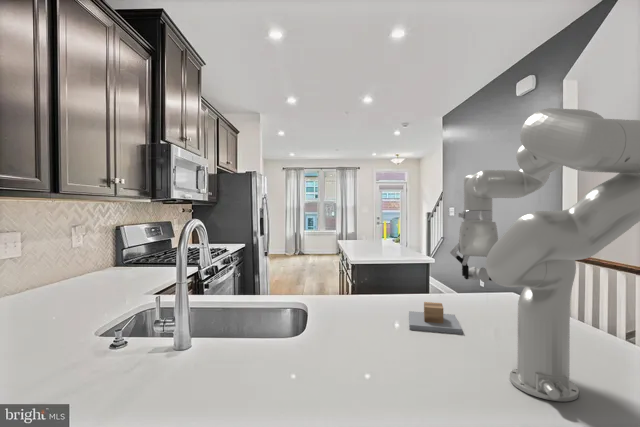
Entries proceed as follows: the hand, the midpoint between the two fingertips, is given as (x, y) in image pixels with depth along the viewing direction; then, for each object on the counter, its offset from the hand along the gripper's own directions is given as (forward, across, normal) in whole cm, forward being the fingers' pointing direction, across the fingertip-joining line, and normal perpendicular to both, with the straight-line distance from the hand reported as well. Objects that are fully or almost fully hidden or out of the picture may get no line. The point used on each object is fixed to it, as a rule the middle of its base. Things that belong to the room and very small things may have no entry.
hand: (477, 278), depth 96 cm
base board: (+19, -11, +16) cm, 27 cm away
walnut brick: (+18, -11, +16) cm, 26 cm away
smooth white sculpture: (+1, 0, +1) cm, 1 cm away
